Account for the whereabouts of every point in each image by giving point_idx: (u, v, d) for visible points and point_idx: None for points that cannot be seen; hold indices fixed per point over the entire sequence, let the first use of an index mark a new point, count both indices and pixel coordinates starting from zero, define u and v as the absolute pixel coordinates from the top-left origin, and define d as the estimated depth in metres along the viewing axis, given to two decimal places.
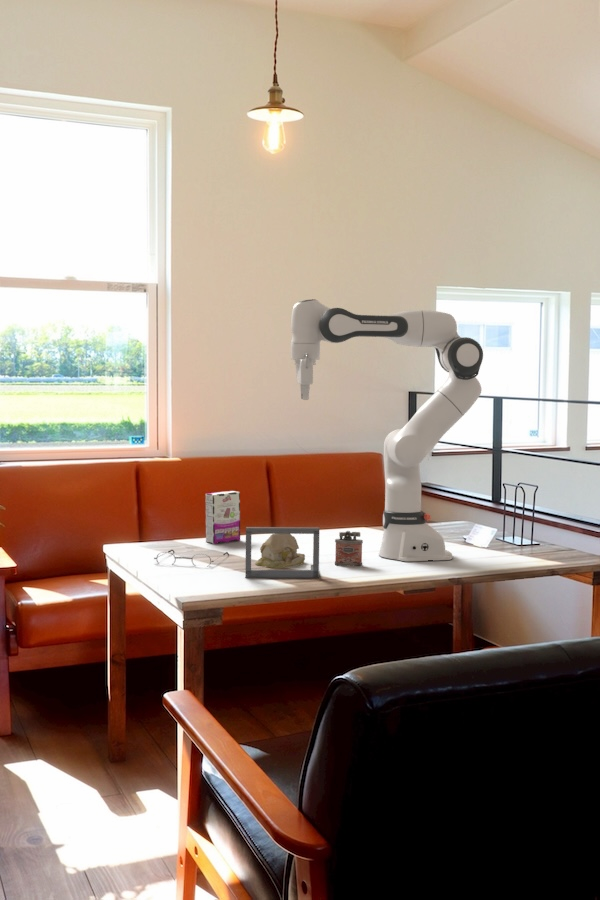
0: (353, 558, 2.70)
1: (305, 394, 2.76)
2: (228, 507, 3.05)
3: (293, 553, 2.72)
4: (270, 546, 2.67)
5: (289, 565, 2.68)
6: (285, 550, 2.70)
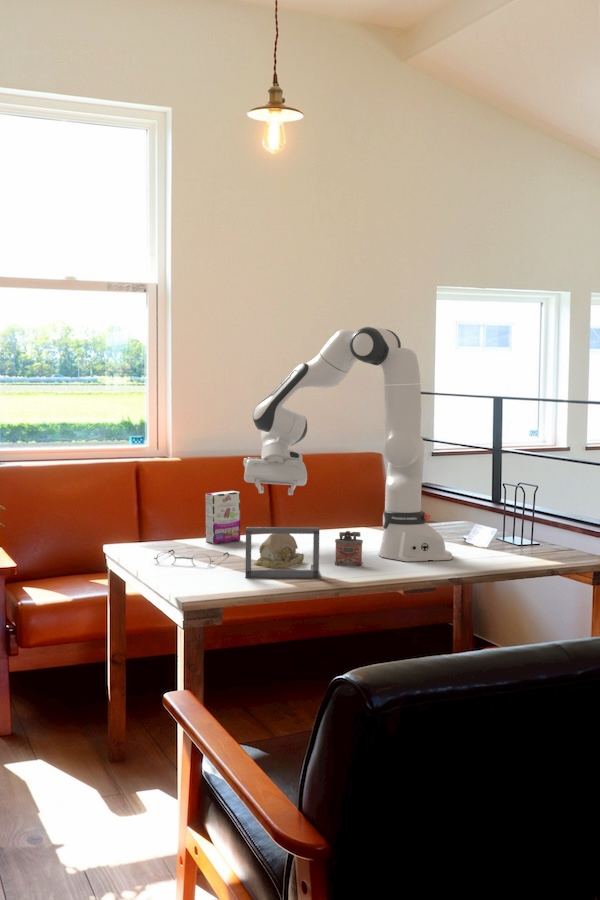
0: (353, 558, 2.70)
1: (258, 488, 2.93)
2: (228, 507, 3.05)
3: (292, 553, 2.73)
4: (269, 546, 2.67)
5: (288, 565, 2.69)
6: (284, 550, 2.70)
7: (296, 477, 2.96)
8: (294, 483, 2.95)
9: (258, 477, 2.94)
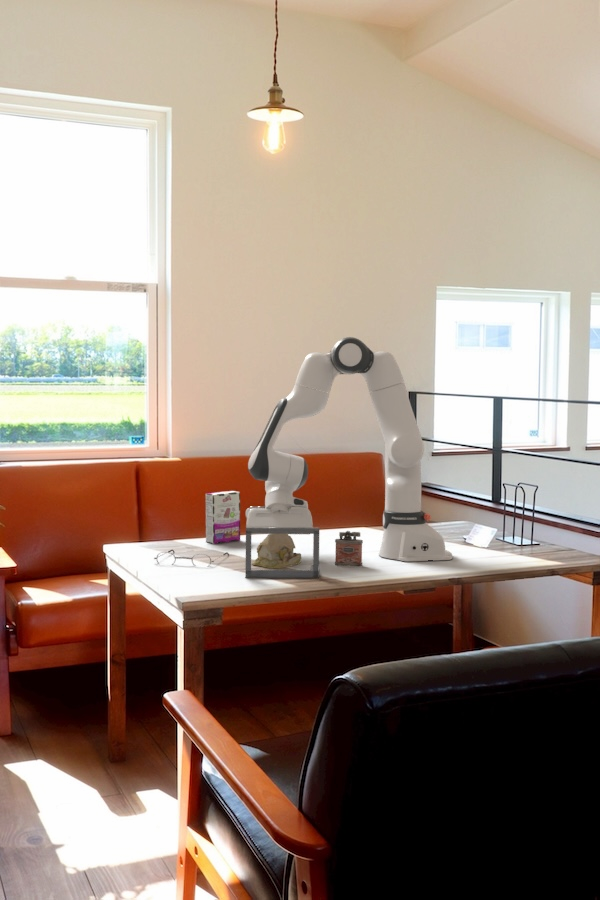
0: (353, 558, 2.70)
1: None
2: (228, 507, 3.05)
3: (290, 553, 2.72)
4: (268, 546, 2.67)
5: (287, 565, 2.68)
6: (282, 550, 2.70)
7: (300, 526, 2.80)
8: None
9: None
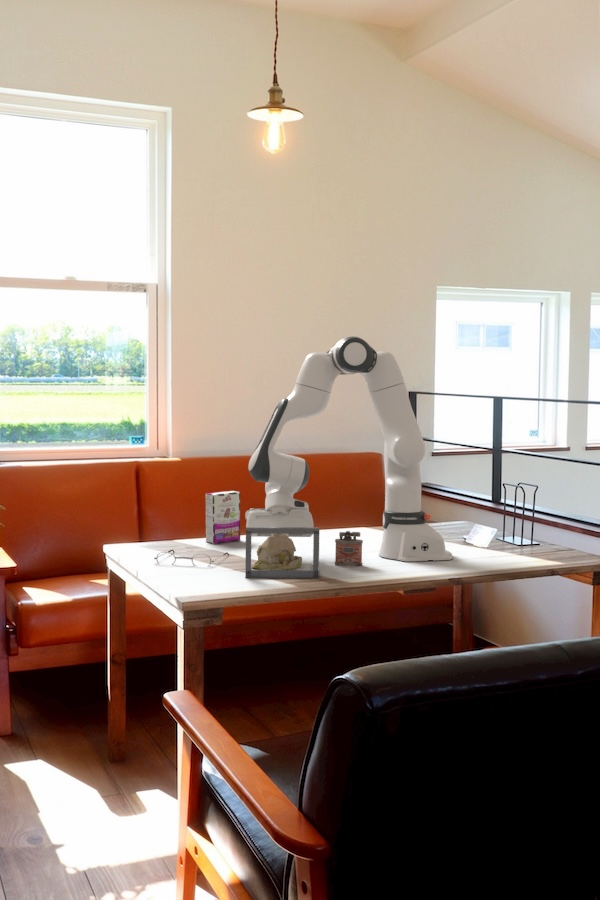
0: (353, 558, 2.70)
1: None
2: (228, 507, 3.05)
3: (290, 556, 2.67)
4: (267, 549, 2.62)
5: (286, 568, 2.63)
6: (282, 553, 2.65)
7: None
8: None
9: None
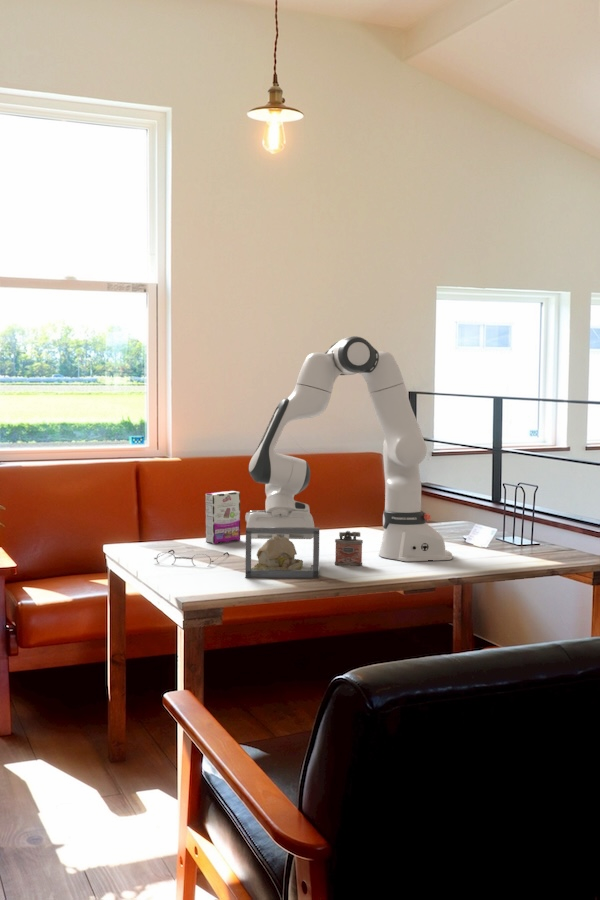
0: (353, 558, 2.70)
1: None
2: (228, 507, 3.05)
3: (291, 559, 2.64)
4: (266, 552, 2.59)
5: None
6: (282, 556, 2.61)
7: None
8: (286, 537, 2.71)
9: None
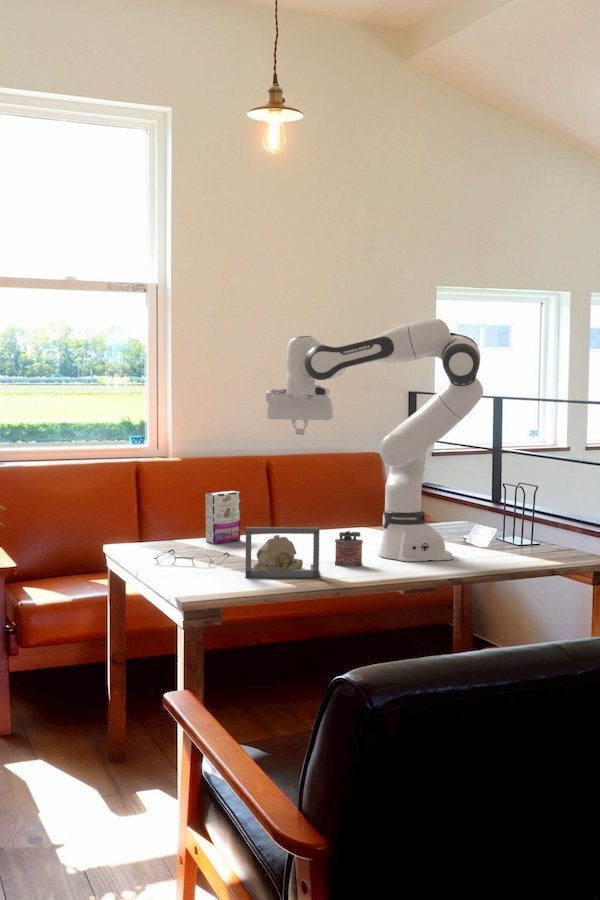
0: (353, 558, 2.70)
1: None
2: (228, 507, 3.05)
3: (290, 559, 2.64)
4: (266, 551, 2.59)
5: None
6: (282, 555, 2.62)
7: (321, 418, 2.82)
8: (306, 423, 2.83)
9: None
